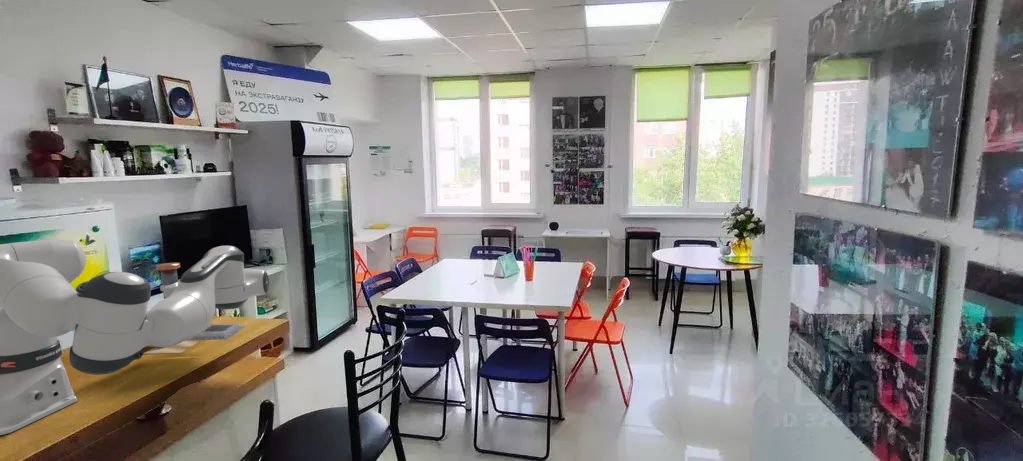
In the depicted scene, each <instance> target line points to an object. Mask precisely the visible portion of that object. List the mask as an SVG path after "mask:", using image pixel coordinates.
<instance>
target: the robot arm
mask: <svg viewBox="0 0 1023 461" xmlns="http://www.w3.org/2000/svg"><path fill="white" fill-rule="evenodd" d="M244 263H245V253H244V252H243V251H241V249H240V248H238V247H237V246H234V245H220V246H216V247H212V248H211V249H209V250H208V251H207V252H206V253H204V255H203V257H202V258H200V260H198V261H197V262H196V263H195V264H193V265H192V266H191V267H190V268H188V269H187V270H186V271H185V272H184V273H182V276H181V278H180V279H178V282H176V283H173V284H171V285H169V284H164V285H162V284H161V285H159V286H160V287H159V288H160V292H163V291H164V294H163V296H164V295H165V299H164V298H163V299H162V300H161V301H159V302H157V303H156V304H155V305H154V306H151V307H148V303H149V301H150V300H151V295H152V294H151V293H152V288H151V283H150V282H149V281H148V279H146V278H144V277H143V276H141V275H138V274H134V273H132V272H131V273H130V272H126V271H125V272H124V271H111V272H109V271H108V272H105V273H102V274H99V275H96V276H93V277H92V278H91V279H89V280H87V281H83V282H81V283H79V284H78V285H76V287H75V288H74V287H73V285H71V283H72V282H73V281H75V280H76V279H77V278H78V277H80V276H81V274H82V273H83V272H84V270H85V268H86V264H87V257H86V254H85V252H84V250H83V248H82V247H81V246H80V245H79V244H78V243H76V242H75V241H72V240H71V239H70V240H69V239H67V240H65V239H38V240H28V241H18V242H9V243H2V244H0V308H1V309H0V436H2V435H3V436H4V435H8V434H10V433H12V432H15V431H17V430H19V429H21V428H23V427H25V426H28V425H29V424H32V423H34V422H36V421H38V420H40V419H43V418H45V417H46V416H49V415H51V414H53V413H55V412H57V411H59V410H61V409H64V408H65V407H68V406H70V405H72V404H74V403H76V402H78V399H77V396H76V395H75V391H74V390H73V388H72V386H71V384H70V379H69V377H68V373H67V370H66V368H65V366H64V364H63V362H62V359H61V358H62V357H61V356H62V355H63V353H62V345H61V341H60V340H59V339H58V337H61V336H63V335H66V334H68V333H70V332H73V336H72V337H73V338H72V344H71V346H70V348H69V355H68V356H69V363H70V365H71V367H72V368H73V369H75V370H76V371H78V372H79V373H80V372H81V373H83V374H87V375H96V376H97V375H99V376H102V375H109V374H112V373H115V372H118V371H120V370H121V369H123V368H125V367H127V366H129V365H130V364H131V363H132V362H133V361H136V360H140V359H141V358H142V357H143V355H145V354H144V353H145V350H144V349H143V348H146V347H149V346H154V347H156V346H157V347H168V346H172V345H176V344H178V343H181V342H183V341H189V340H188V339H190V338H191V337H193V336H195V335H196V334H198V333H199V332H201V331H202V330H203V329H205V328H206V327H207V326H209V325H210V324H209V323H210V322H211V320H213V318H214V317H215V316H214V315H215V313H216V309H217V310H235V309H239V308H241V307H242V306H243V305H244V304H245V303H246V302H247V300H248V299H250V298H253V297H257V296H263V295H266V294H268V291H269V287H270V281H269V275H268V273H267V271H266V270H264V269H259V268H256V269H255V268H245V266H244V265H245V264H244Z"/></svg>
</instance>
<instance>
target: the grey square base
mask: <svg viewBox="0 0 1023 461" xmlns="http://www.w3.org/2000/svg"><path fill="white" fill-rule="evenodd" d="M246 327H247V325H240V324H239V323H214V324H213V323H211V324H209V325H208V326H207V327H206V328H205V329H203V330H202V331H201V332H199V333H198V334H196V335H195V336H193V337H191V338H190V339H188V340H187V341H213V340H215V341H217V340H220V341H221V340H222V341H223V340H229V339H230V338H232V337H234V336H235V335H236V334H238V333H239V332H240V331H242V330H243V329H244V328H246Z"/></svg>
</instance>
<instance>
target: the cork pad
mask: <svg viewBox="0 0 1023 461" xmlns="http://www.w3.org/2000/svg"><path fill="white" fill-rule="evenodd" d="M199 342H201V340H186V341H183V342H181V343H178V344H176V345H172V346H168V347H157V346H154V347H152V348H150V349H149V350H147V351H144V354H143V355H164V354H165V355H166V354H167V355H169V354H182V353H183V352H185V351H187V350H188V349H190V348H192V347H194V346H195V345H196V344H198V343H199Z"/></svg>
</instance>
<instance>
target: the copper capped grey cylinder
mask: <svg viewBox="0 0 1023 461" xmlns="http://www.w3.org/2000/svg"><path fill="white" fill-rule="evenodd" d="M155 267H156V268H155V269H156V271H160V275H161V285H164V284H169V285H171V284H173V283H176V282H178V280H179V278H178V269H180V268H181V262H165V263H159V264H156V265H155ZM162 292H163V300H164V299H165V295H164V291H162Z"/></svg>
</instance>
